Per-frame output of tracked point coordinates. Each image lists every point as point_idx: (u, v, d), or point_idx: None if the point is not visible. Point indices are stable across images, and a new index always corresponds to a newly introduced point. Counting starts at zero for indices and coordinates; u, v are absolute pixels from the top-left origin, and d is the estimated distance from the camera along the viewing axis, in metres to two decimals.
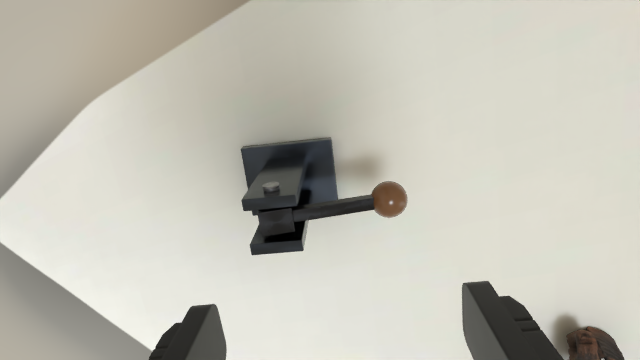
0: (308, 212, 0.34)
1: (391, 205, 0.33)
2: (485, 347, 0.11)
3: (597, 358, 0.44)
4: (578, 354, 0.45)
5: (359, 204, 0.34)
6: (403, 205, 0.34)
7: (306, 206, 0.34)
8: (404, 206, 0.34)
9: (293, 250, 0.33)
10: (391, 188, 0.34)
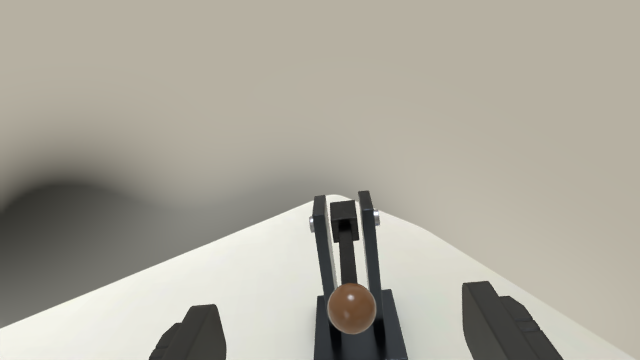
0: (347, 235, 0.32)
1: (350, 287, 0.25)
2: (485, 347, 0.11)
3: None
4: None
5: (350, 273, 0.28)
6: (347, 303, 0.24)
7: (352, 238, 0.32)
8: (344, 308, 0.24)
9: (314, 211, 0.33)
10: (370, 296, 0.25)
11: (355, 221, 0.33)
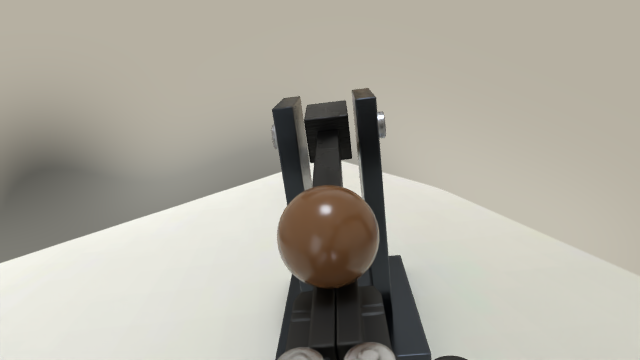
0: (330, 140, 0.19)
1: (323, 188, 0.12)
2: None
3: None
4: None
5: (330, 182, 0.15)
6: (314, 214, 0.11)
7: None
8: (308, 224, 0.11)
9: (276, 106, 0.20)
10: (366, 206, 0.12)
11: (345, 122, 0.20)
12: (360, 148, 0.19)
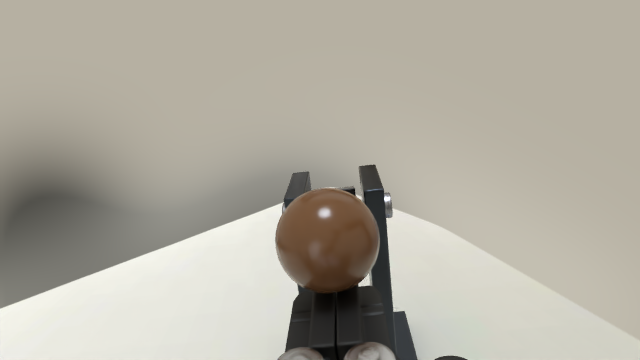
0: None
1: None
2: None
3: None
4: None
5: None
6: (313, 199, 0.11)
7: None
8: (306, 207, 0.11)
9: (287, 193, 0.20)
10: None
11: None
12: None
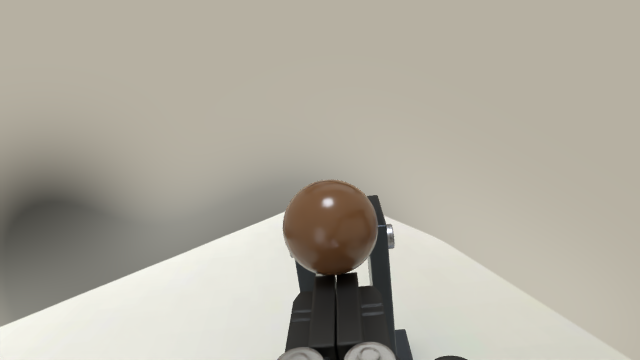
0: None
1: None
2: None
3: None
4: None
5: None
6: (318, 184, 0.13)
7: None
8: (311, 190, 0.13)
9: None
10: (365, 195, 0.13)
11: None
12: (371, 267, 0.21)
